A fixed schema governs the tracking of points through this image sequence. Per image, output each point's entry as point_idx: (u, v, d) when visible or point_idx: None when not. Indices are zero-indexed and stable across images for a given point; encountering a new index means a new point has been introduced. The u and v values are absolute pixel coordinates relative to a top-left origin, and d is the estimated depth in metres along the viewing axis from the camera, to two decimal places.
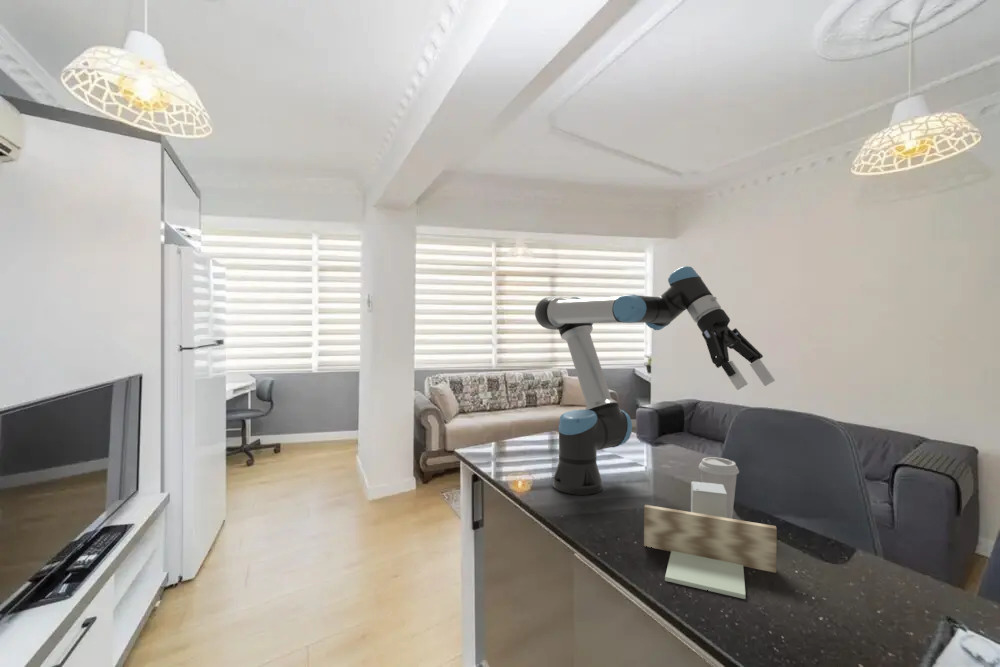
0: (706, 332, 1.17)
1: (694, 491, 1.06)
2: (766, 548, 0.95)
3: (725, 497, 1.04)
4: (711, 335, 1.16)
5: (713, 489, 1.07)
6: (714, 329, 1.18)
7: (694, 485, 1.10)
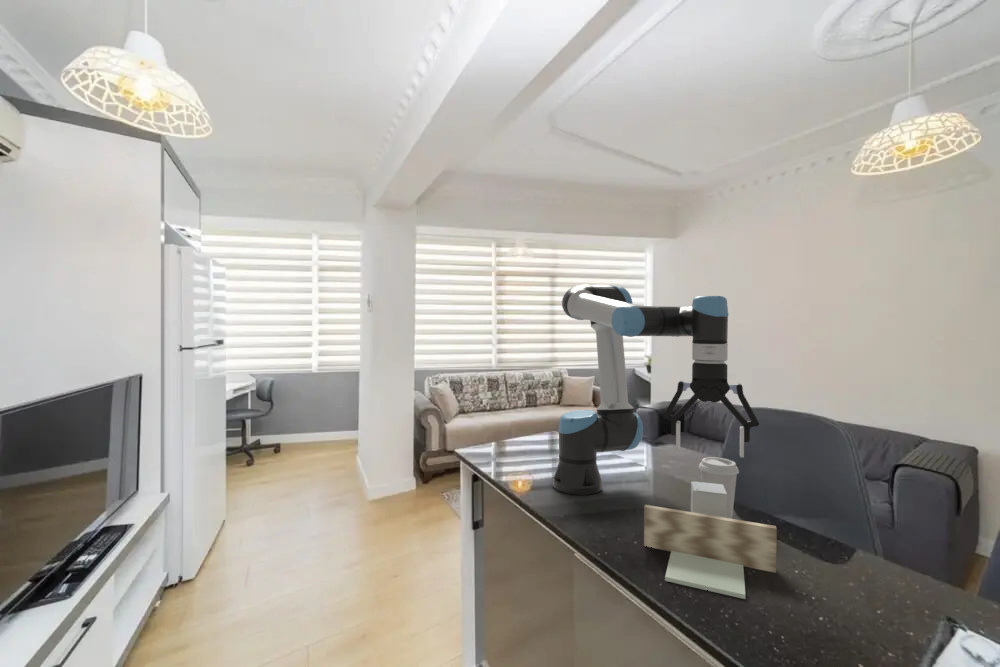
0: None
1: (694, 491, 1.06)
2: (766, 548, 0.95)
3: (725, 497, 1.04)
4: (677, 390, 1.11)
5: (713, 489, 1.07)
6: (691, 383, 1.09)
7: (694, 485, 1.10)
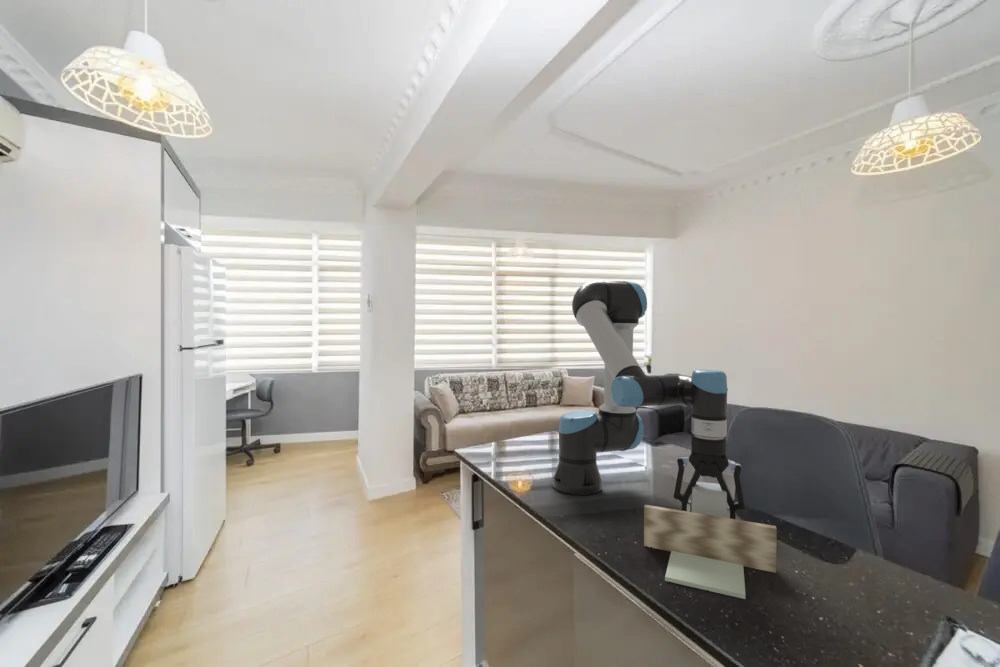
0: None
1: (694, 491, 1.06)
2: (766, 548, 0.95)
3: (725, 497, 1.04)
4: (678, 467, 1.11)
5: (713, 488, 1.07)
6: (690, 457, 1.09)
7: None
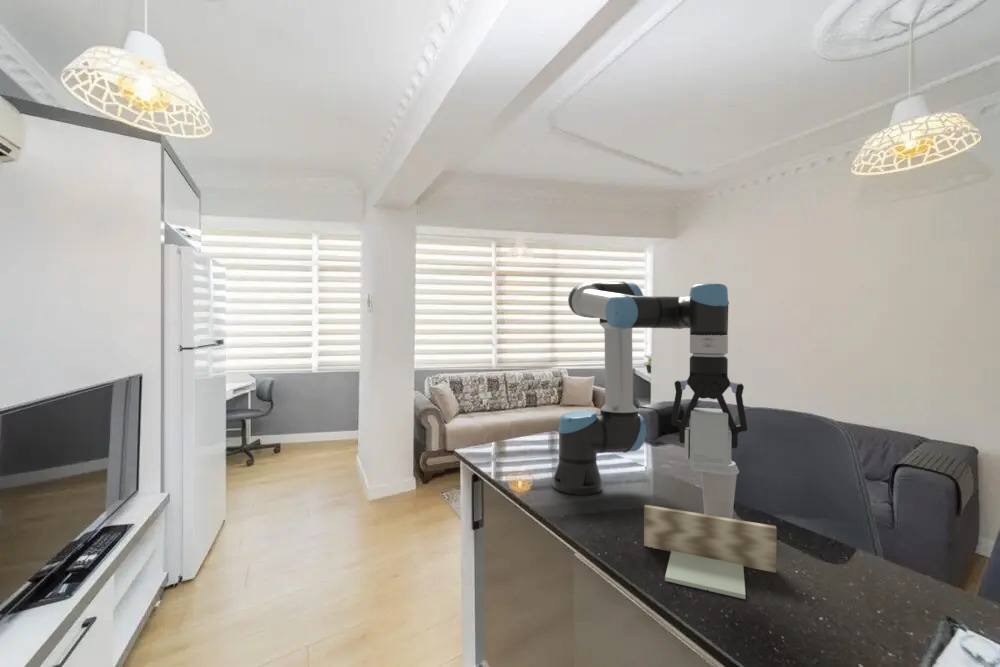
0: None
1: (693, 413, 0.98)
2: (766, 548, 0.95)
3: (726, 418, 0.96)
4: (676, 391, 1.02)
5: (713, 411, 0.99)
6: (688, 379, 1.01)
7: None
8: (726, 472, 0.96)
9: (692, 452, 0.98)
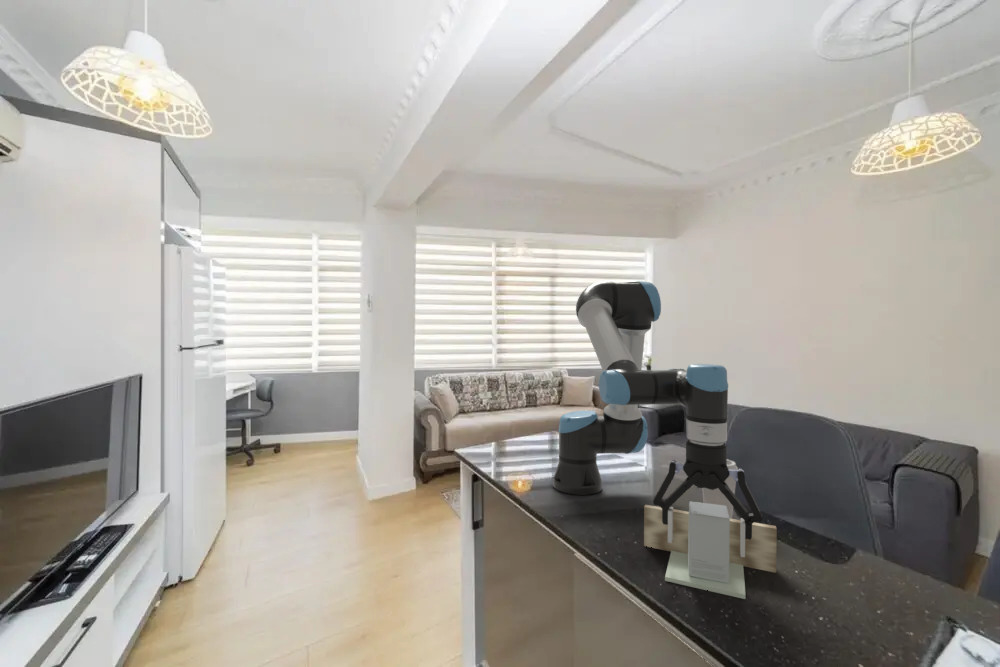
0: (670, 463, 0.96)
1: (691, 514, 0.91)
2: (766, 548, 0.95)
3: (727, 522, 0.89)
4: (668, 472, 0.95)
5: (713, 511, 0.92)
6: (685, 465, 0.94)
7: (692, 506, 0.94)
8: (727, 581, 0.89)
9: (690, 556, 0.91)
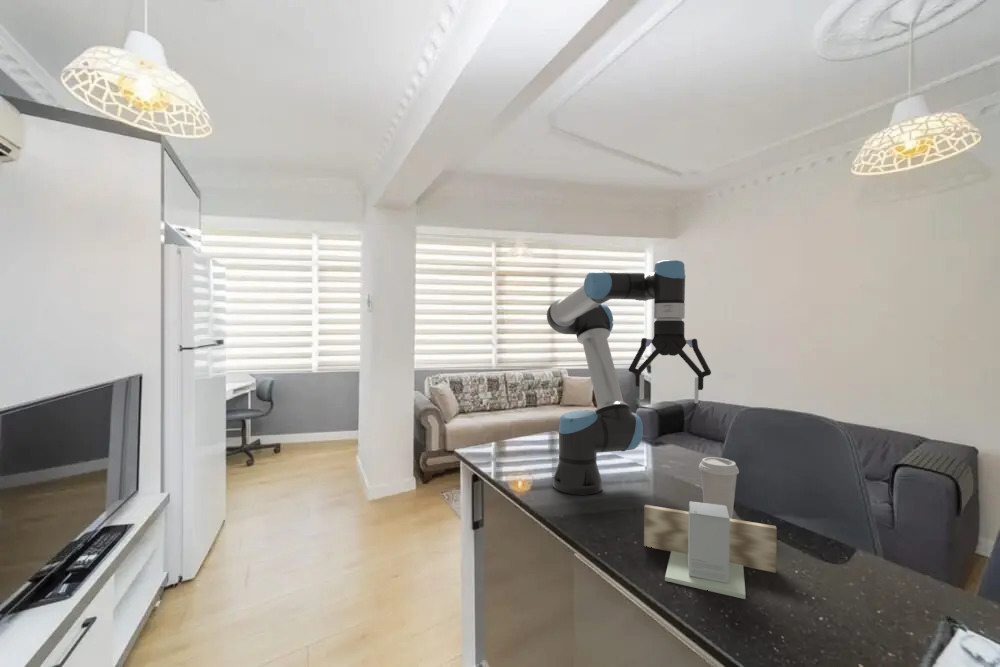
0: None
1: (691, 514, 0.91)
2: (766, 548, 0.95)
3: (727, 522, 0.89)
4: None
5: (713, 511, 0.92)
6: (653, 339, 1.22)
7: (692, 506, 0.94)
8: (727, 581, 0.89)
9: (690, 556, 0.91)
